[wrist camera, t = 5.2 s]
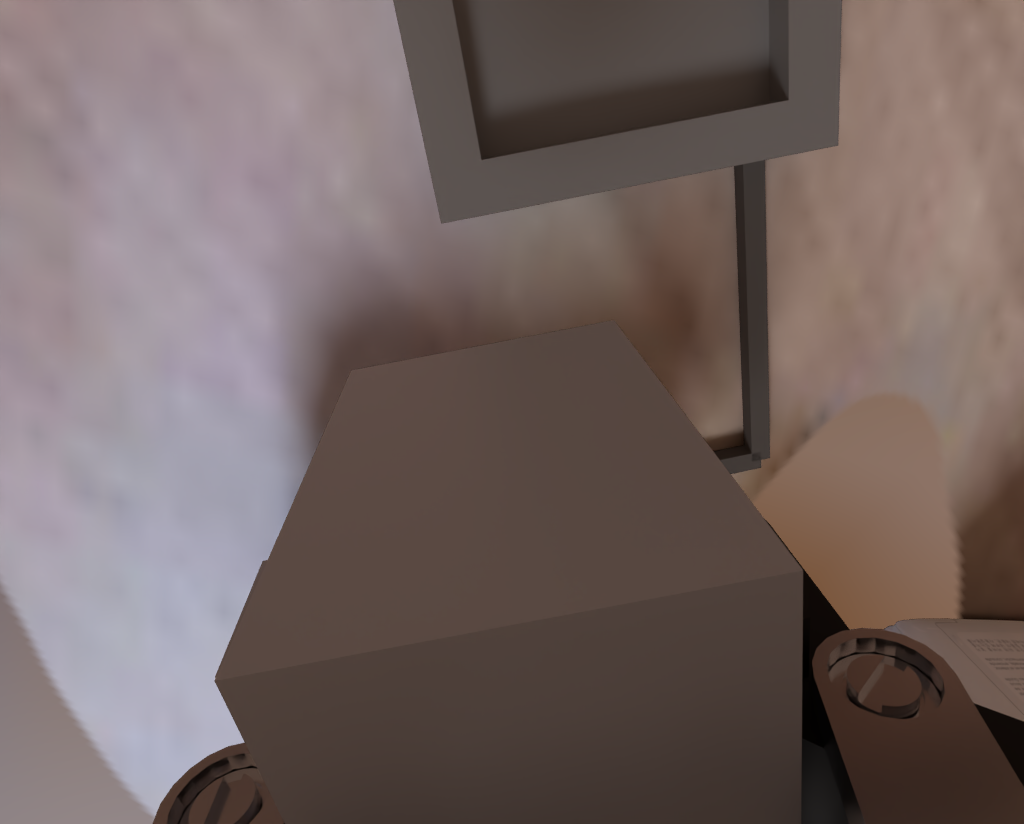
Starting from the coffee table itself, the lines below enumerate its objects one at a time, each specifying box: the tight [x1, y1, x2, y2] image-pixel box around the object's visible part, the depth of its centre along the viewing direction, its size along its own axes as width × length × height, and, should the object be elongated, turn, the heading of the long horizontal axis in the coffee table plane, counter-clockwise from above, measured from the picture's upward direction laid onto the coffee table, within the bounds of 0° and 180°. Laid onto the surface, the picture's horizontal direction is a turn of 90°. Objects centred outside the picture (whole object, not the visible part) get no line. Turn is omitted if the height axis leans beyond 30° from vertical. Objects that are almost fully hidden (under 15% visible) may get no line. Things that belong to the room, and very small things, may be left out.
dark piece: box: [714, 160, 770, 474], centre depth 22 cm, size 16×11×4 cm
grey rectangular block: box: [215, 320, 803, 824], centre depth 9 cm, size 4×7×6 cm, turn 10°
